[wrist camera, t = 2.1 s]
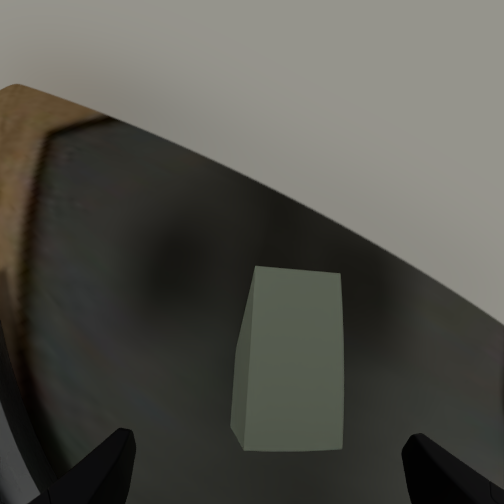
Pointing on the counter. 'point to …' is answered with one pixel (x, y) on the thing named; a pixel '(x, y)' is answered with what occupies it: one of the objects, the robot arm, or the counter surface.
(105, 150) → the counter surface
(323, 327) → the door panel
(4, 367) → the track
